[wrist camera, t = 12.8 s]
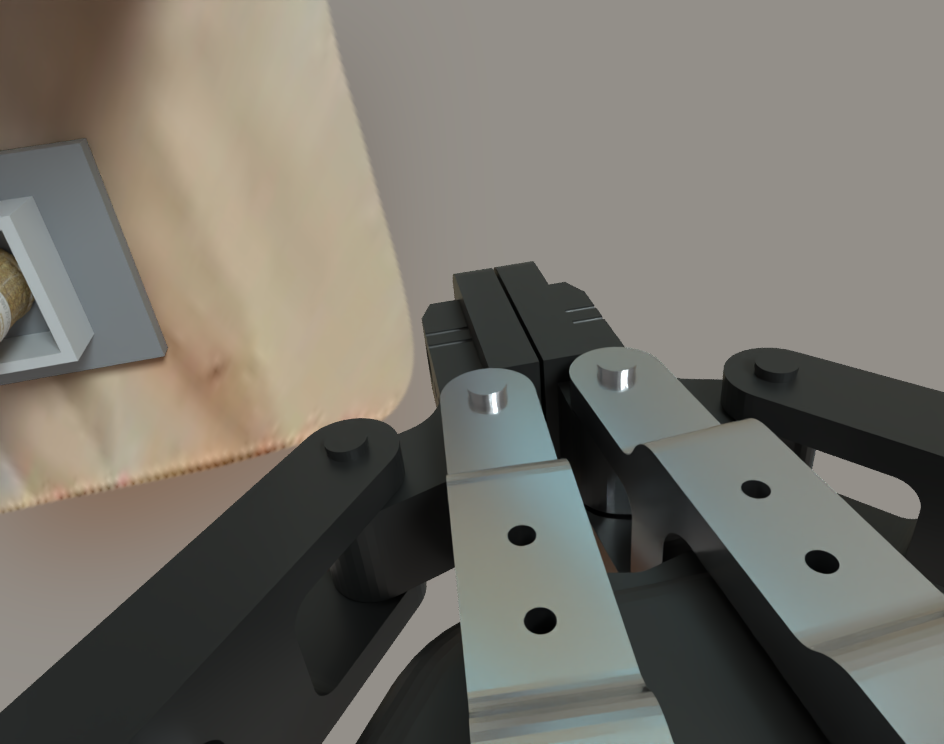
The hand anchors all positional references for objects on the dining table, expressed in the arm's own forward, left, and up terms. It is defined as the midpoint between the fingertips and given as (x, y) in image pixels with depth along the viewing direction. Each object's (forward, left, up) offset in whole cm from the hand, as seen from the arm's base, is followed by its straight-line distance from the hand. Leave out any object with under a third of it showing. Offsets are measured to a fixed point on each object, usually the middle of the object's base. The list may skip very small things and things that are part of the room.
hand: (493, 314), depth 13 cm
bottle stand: (+7, -22, -27) cm, 35 cm away
